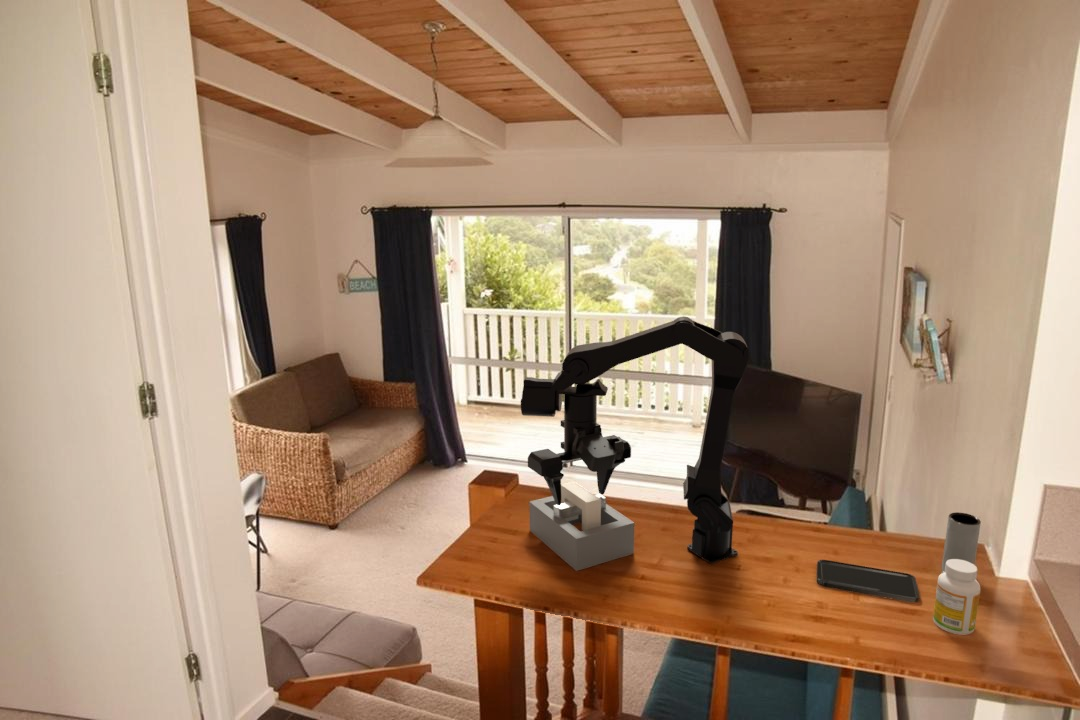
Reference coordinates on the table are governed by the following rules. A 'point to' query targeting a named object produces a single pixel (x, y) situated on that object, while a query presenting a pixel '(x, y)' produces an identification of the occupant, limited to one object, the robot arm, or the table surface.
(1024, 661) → the table surface
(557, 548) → the frame
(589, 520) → the cream block
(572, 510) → the cross bar
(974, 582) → the supplement bottle
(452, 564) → the table surface
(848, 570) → the phone
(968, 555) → the grey hollow cylinder
